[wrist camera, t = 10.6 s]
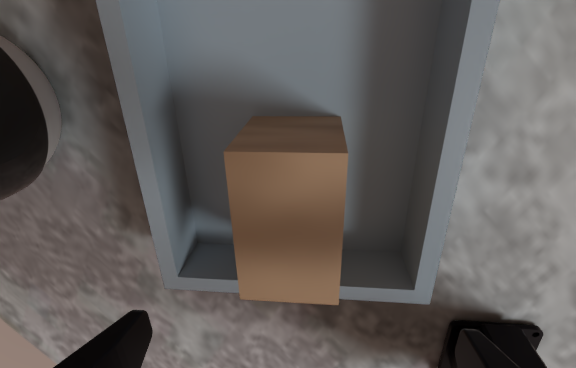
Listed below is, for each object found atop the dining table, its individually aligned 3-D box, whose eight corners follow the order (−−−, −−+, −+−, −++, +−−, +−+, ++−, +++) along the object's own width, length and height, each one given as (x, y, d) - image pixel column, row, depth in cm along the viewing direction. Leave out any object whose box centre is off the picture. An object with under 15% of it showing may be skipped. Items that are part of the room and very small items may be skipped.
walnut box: (334, 236, 21) (338, 305, 16) (260, 233, 22) (239, 299, 16) (340, 116, 18) (348, 153, 13) (252, 116, 18) (223, 151, 13)
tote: (410, 255, 23) (429, 304, 19) (191, 245, 24) (164, 288, 20) (501, -250, 12) (589, -387, 8) (109, -212, 14) (21, -311, 10)
